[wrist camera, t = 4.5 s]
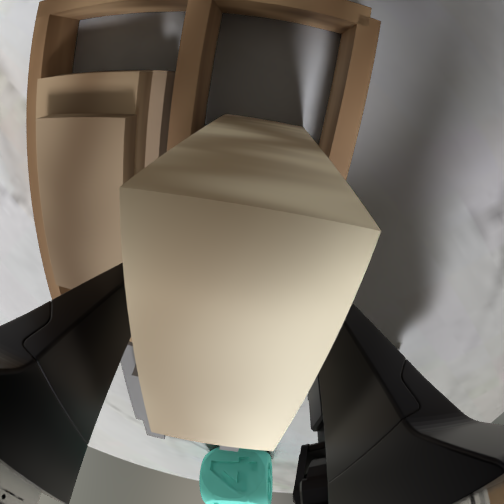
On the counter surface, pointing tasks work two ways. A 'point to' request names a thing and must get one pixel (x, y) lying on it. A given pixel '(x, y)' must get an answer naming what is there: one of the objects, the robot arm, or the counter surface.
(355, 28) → the rack
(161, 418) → the pale wooden block
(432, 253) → the counter surface
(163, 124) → the offcut stack
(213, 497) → the decorative dice
